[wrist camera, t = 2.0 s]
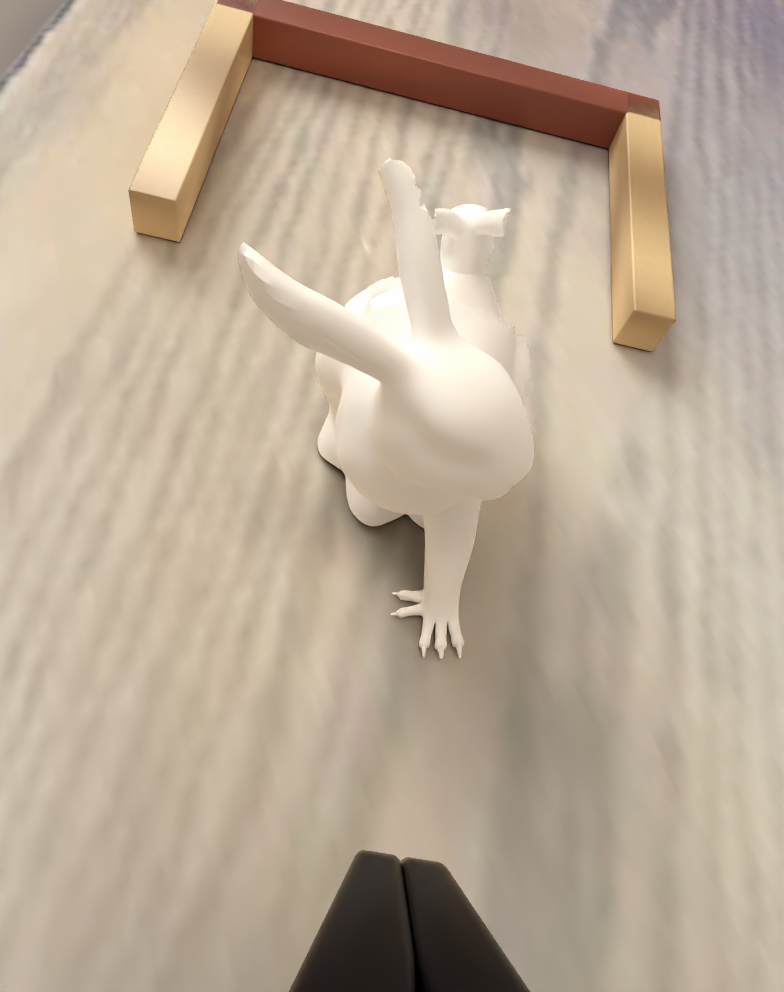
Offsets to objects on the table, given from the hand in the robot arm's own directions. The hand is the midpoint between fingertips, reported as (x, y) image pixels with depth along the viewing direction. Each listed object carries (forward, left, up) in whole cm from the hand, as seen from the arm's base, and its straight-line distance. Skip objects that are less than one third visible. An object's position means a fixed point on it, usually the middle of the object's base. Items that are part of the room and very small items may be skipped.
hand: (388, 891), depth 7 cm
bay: (+26, 0, -12) cm, 28 cm away
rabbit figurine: (+12, 0, -12) cm, 17 cm away
